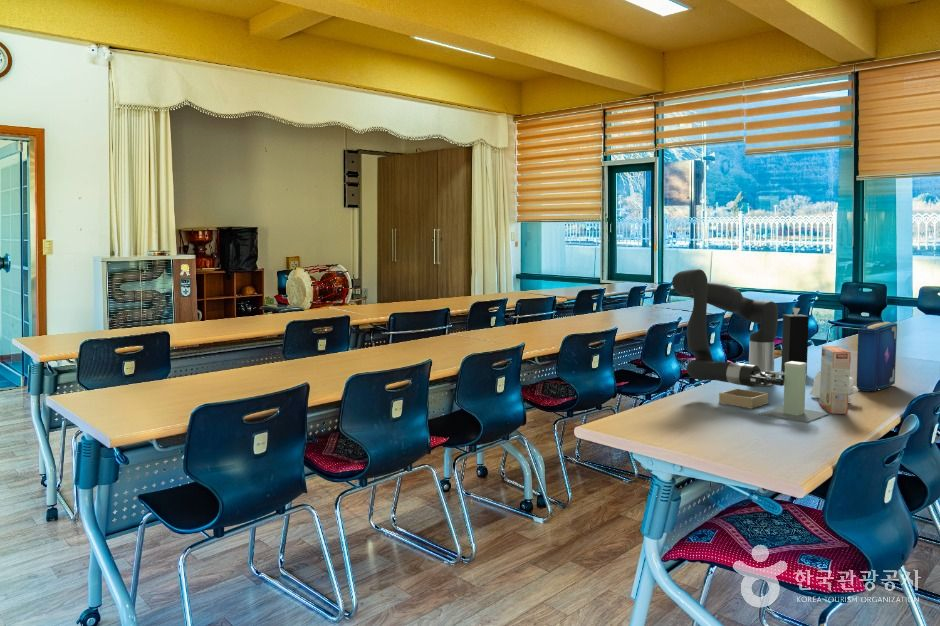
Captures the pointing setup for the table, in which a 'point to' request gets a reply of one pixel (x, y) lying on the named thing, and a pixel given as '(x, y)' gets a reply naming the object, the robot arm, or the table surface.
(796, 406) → the tea tin
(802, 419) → the mat
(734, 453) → the table surface
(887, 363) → the book
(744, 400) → the wooden square frame
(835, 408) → the cracker box
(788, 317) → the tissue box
